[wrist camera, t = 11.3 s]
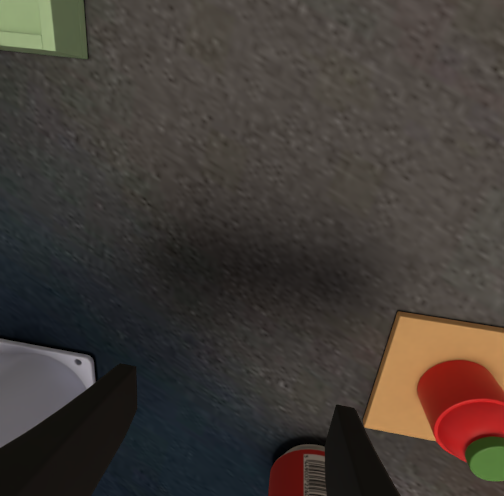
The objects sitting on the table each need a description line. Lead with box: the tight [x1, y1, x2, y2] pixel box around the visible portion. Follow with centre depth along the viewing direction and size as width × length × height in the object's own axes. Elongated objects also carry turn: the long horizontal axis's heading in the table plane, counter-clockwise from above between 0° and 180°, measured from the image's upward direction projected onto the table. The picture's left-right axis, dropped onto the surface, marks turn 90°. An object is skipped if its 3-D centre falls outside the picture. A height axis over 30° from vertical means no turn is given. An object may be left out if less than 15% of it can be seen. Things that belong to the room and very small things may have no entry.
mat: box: [363, 311, 504, 441], centre depth 21 cm, size 9×9×1 cm
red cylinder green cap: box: [417, 360, 504, 481], centre depth 19 cm, size 4×4×5 cm
